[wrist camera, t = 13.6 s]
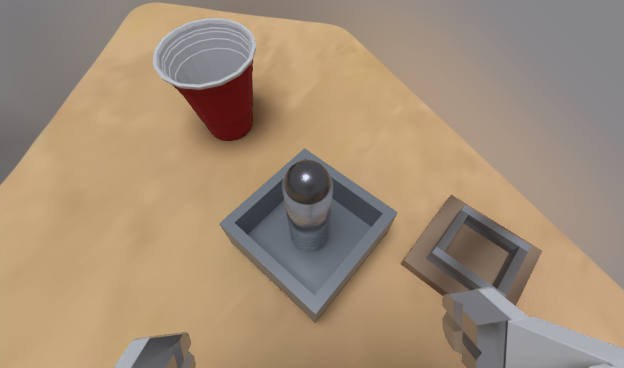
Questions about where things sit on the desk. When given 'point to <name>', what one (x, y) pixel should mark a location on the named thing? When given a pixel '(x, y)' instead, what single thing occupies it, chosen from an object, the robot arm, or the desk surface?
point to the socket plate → (471, 254)
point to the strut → (308, 204)
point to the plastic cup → (212, 72)
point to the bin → (315, 265)
